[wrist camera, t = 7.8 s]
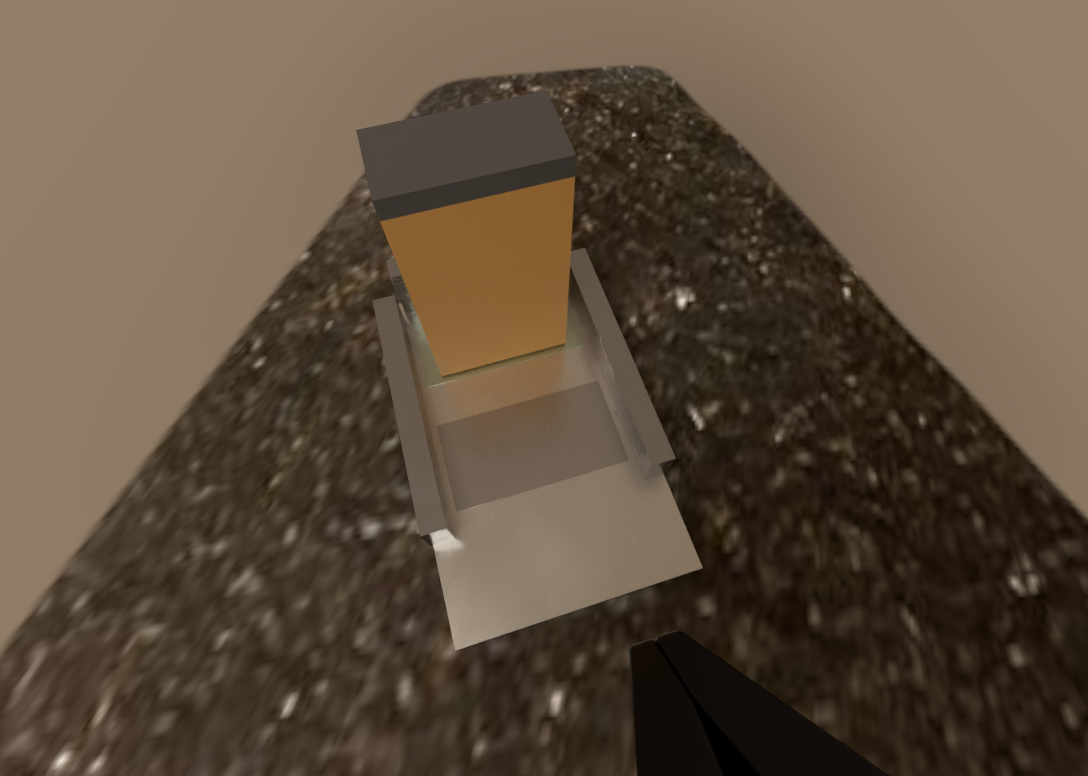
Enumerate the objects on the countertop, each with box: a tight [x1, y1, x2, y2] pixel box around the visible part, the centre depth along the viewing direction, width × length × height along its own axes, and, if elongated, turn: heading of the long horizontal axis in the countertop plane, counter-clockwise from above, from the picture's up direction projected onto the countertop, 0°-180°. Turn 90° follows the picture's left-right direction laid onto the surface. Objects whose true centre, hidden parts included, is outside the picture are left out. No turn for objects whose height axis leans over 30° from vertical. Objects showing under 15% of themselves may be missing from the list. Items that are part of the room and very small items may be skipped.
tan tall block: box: [356, 91, 576, 376], centre depth 21 cm, size 3×6×11 cm, turn 107°
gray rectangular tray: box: [373, 248, 703, 651], centre depth 23 cm, size 16×10×4 cm, turn 17°
